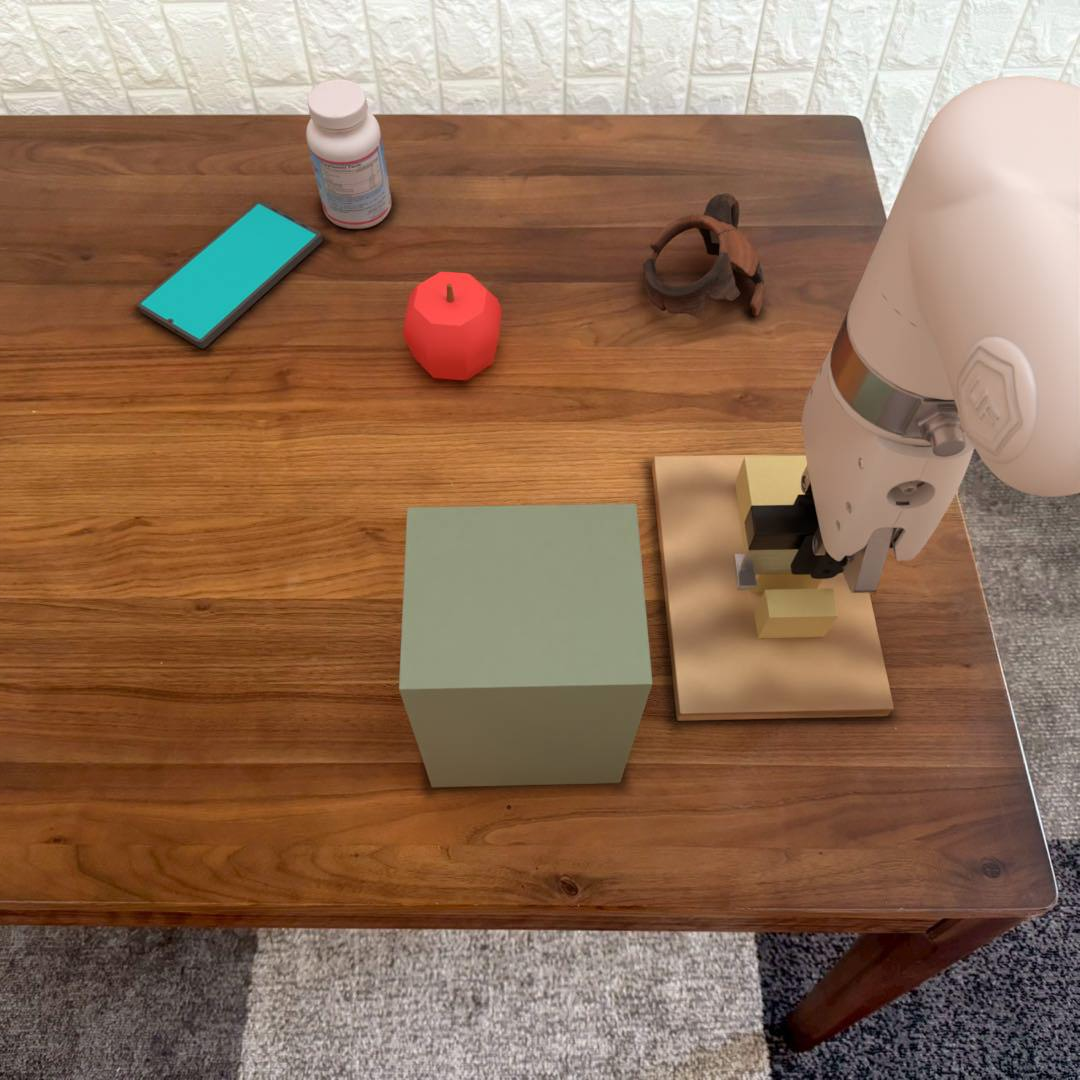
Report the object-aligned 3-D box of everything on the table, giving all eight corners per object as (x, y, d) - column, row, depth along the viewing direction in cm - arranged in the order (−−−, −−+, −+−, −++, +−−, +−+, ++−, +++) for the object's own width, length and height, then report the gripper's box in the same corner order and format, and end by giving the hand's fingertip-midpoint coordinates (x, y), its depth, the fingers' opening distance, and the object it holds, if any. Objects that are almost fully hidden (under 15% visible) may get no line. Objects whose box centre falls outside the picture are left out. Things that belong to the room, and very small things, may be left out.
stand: (620, 783, 61) (652, 683, 45) (431, 787, 61) (398, 689, 45) (610, 638, 66) (636, 503, 50) (435, 641, 66) (407, 506, 50)
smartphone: (322, 232, 83) (199, 343, 77) (324, 240, 84) (203, 350, 78) (259, 198, 85) (134, 303, 79) (261, 206, 86) (138, 311, 79)
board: (887, 716, 64) (894, 709, 62) (676, 721, 63) (679, 713, 62) (834, 463, 73) (839, 452, 72) (651, 466, 73) (653, 455, 72)
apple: (388, 372, 77) (374, 302, 70) (438, 305, 80) (429, 232, 73) (474, 409, 75) (469, 341, 68) (522, 339, 79) (522, 268, 72)
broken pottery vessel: (764, 349, 79) (733, 298, 72) (659, 355, 84) (620, 308, 77) (784, 221, 82) (755, 161, 75) (681, 234, 87) (645, 179, 80)
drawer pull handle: (871, 588, 62) (910, 535, 56) (732, 590, 62) (755, 537, 55) (864, 555, 63) (901, 499, 57) (727, 557, 63) (750, 501, 56)
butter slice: (823, 637, 65) (838, 616, 62) (757, 638, 64) (769, 617, 61) (819, 610, 66) (833, 588, 62) (753, 611, 65) (764, 589, 62)
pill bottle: (334, 180, 87) (310, 68, 78) (399, 189, 87) (383, 77, 77) (315, 227, 85) (287, 116, 75) (382, 237, 84) (362, 127, 74)
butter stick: (815, 591, 66) (829, 568, 63) (750, 593, 66) (761, 570, 63) (795, 481, 71) (807, 455, 68) (734, 482, 70) (744, 456, 67)
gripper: (1050, 509, 40) (897, 670, 56) (959, 231, 47) (848, 443, 63) (870, 512, 39) (769, 672, 56) (808, 232, 47) (735, 444, 63)
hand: (812, 549), depth 59 cm, fingers closed on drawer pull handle, 2 cm apart
